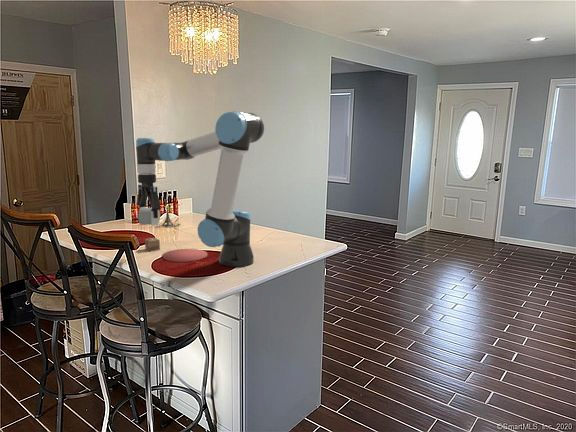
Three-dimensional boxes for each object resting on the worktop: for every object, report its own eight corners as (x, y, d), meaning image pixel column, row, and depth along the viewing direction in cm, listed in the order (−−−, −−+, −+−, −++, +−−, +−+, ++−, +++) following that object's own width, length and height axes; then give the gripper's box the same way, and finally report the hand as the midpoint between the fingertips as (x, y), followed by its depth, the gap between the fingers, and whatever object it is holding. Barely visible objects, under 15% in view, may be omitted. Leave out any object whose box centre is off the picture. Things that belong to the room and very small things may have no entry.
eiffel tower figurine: (154, 228, 256) (153, 206, 253) (154, 225, 265) (153, 203, 263) (181, 227, 260) (180, 205, 258) (180, 224, 270) (179, 202, 267)
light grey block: (157, 225, 191) (156, 208, 190) (138, 226, 191) (137, 208, 190) (162, 221, 202) (161, 205, 201) (144, 221, 201) (143, 205, 200)
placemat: (215, 256, 199) (215, 255, 199) (175, 264, 186) (175, 263, 186) (193, 247, 214) (193, 246, 214) (154, 254, 201) (154, 253, 201)
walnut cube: (159, 249, 209) (159, 239, 208) (149, 251, 206) (149, 240, 205) (155, 247, 213) (154, 237, 212) (145, 249, 210) (144, 238, 209)
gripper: (167, 175, 185) (169, 226, 189) (143, 171, 202) (145, 218, 206) (150, 176, 180) (153, 228, 184) (127, 172, 197) (130, 220, 201)
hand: (149, 223), depth 195 cm, fingers closed on light grey block, 11 cm apart
